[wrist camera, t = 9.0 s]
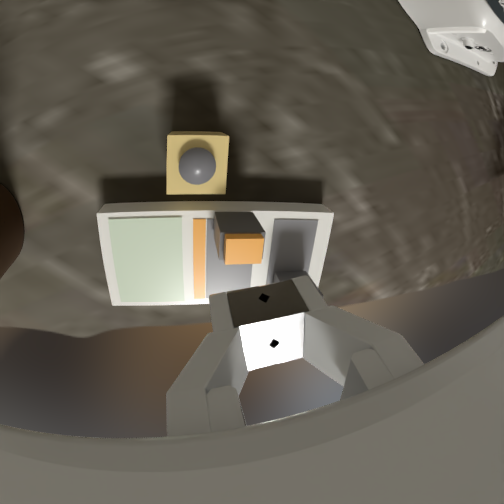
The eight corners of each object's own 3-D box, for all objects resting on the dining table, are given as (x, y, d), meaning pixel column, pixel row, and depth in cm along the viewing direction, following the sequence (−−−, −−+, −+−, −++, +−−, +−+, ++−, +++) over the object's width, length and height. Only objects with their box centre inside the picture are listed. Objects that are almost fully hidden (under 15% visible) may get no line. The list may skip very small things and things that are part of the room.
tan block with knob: (221, 131, 22) (230, 136, 17) (218, 178, 23) (226, 196, 19) (172, 131, 21) (166, 135, 16) (170, 178, 22) (165, 197, 18)
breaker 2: (305, 270, 26) (323, 295, 22) (302, 288, 27) (318, 314, 23) (274, 272, 25) (289, 298, 22) (272, 290, 26) (285, 318, 23)
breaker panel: (322, 204, 26) (334, 213, 24) (306, 283, 31) (316, 297, 28) (104, 203, 22) (96, 214, 20) (116, 290, 26) (112, 306, 24)
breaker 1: (252, 211, 22) (268, 237, 18) (250, 235, 23) (265, 264, 19) (214, 211, 21) (221, 237, 17) (213, 235, 22) (220, 266, 18)
